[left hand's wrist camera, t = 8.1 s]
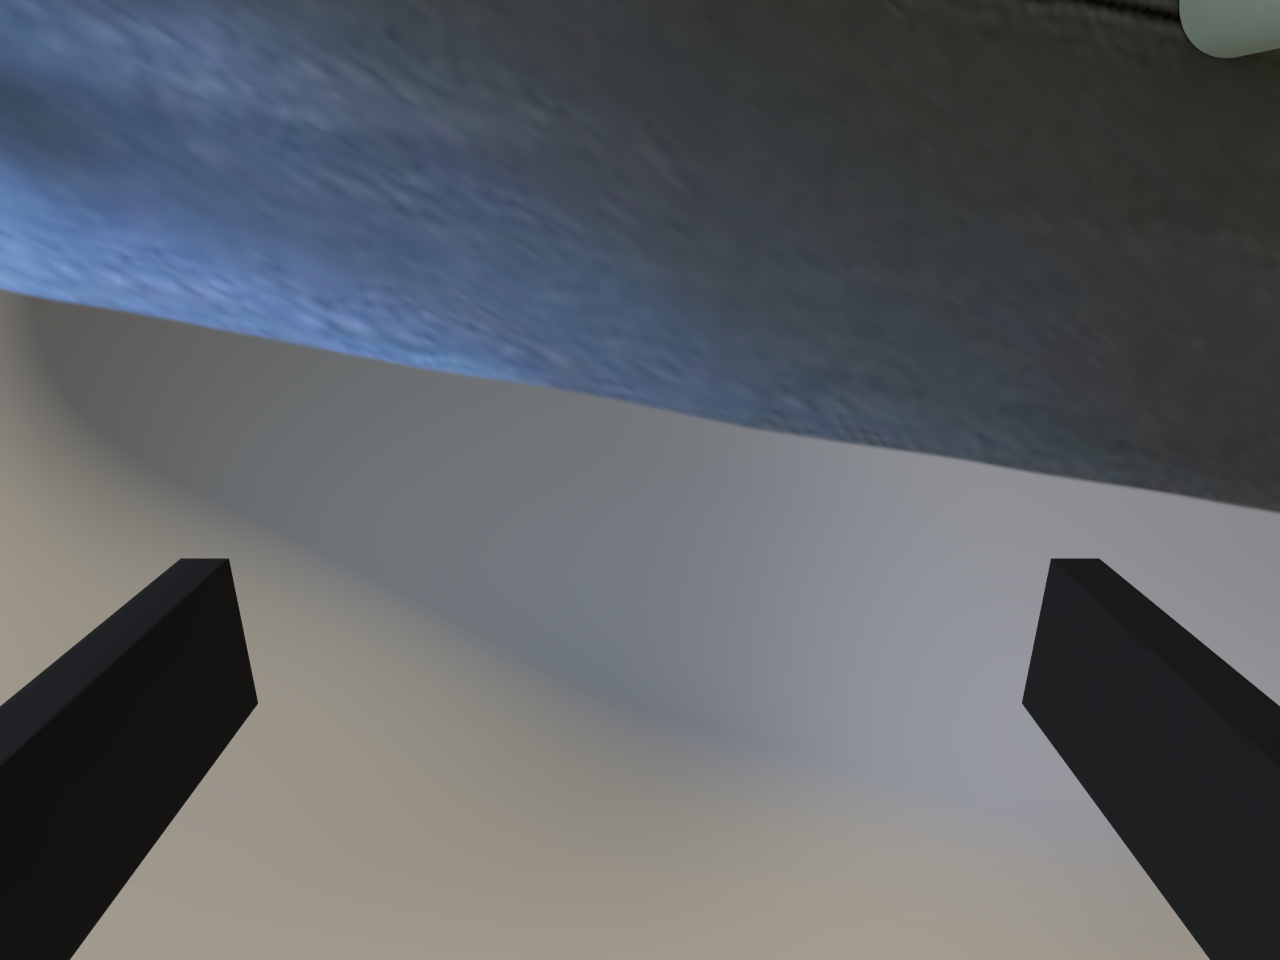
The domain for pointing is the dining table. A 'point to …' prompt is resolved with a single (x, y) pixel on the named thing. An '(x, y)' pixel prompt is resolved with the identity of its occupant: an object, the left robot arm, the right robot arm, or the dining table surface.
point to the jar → (1231, 26)
